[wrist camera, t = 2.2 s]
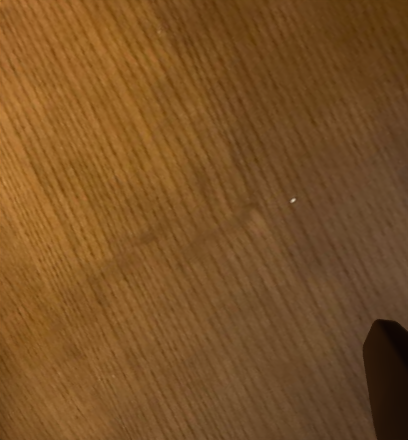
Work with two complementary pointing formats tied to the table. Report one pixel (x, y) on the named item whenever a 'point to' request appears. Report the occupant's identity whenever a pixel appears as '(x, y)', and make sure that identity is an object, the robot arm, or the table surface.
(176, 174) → the table surface
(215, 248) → the table surface
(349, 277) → the table surface
